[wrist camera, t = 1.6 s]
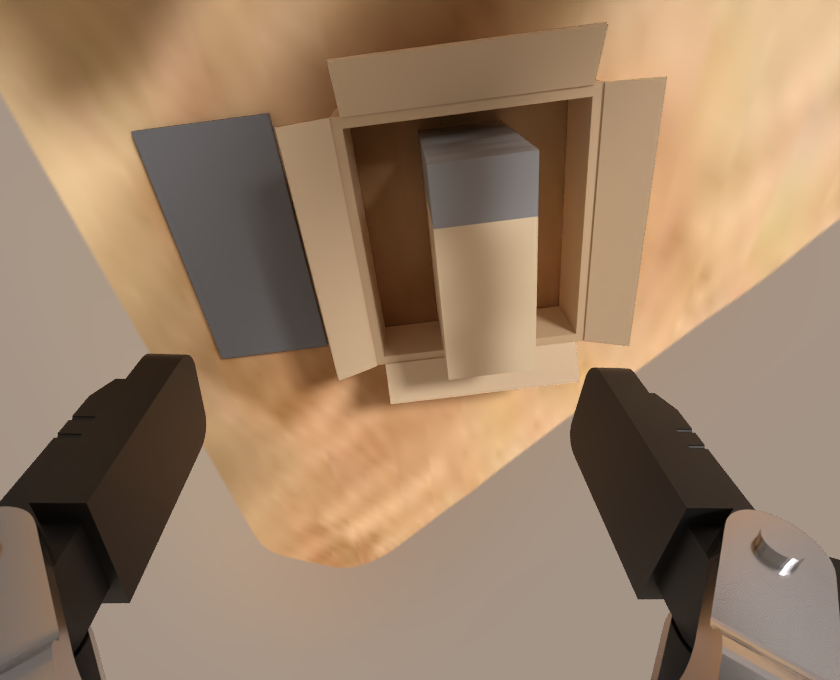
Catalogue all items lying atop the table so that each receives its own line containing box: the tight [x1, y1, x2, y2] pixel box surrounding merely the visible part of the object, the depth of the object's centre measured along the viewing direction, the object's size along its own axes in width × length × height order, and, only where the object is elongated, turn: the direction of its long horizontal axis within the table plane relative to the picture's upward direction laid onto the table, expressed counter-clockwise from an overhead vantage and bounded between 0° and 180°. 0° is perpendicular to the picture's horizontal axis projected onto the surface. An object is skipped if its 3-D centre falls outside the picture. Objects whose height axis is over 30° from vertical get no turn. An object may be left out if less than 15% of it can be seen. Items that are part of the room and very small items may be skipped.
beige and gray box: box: [418, 120, 539, 380], centre depth 28 cm, size 5×12×9 cm, turn 6°
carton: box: [274, 22, 667, 404], centre depth 30 cm, size 19×21×5 cm
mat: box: [131, 113, 328, 359], centre depth 32 cm, size 8×16×1 cm, turn 6°
